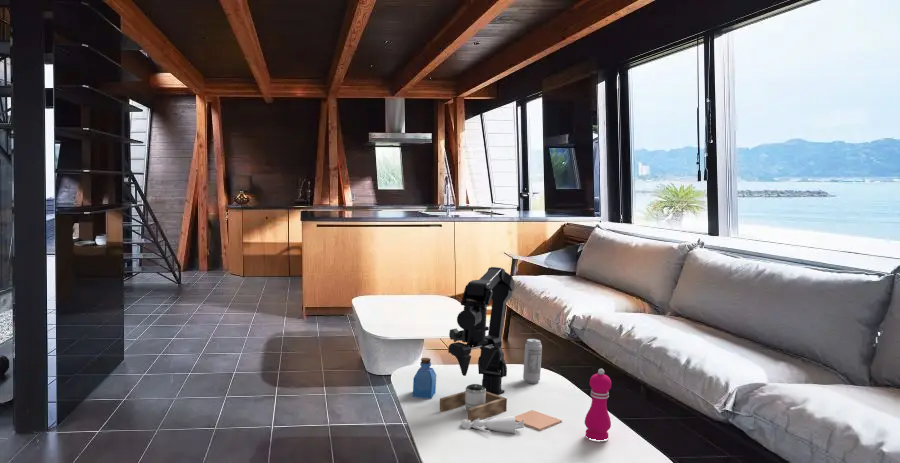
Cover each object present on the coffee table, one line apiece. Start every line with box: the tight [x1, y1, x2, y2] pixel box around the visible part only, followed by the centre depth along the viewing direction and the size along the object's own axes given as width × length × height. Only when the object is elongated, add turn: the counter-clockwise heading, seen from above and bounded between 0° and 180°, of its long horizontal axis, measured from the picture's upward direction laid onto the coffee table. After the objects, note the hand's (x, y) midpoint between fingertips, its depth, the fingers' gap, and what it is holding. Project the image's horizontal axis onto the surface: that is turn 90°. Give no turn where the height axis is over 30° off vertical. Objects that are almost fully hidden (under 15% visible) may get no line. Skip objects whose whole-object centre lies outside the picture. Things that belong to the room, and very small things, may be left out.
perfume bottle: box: [412, 357, 437, 400], centre depth 213 cm, size 6×6×12 cm
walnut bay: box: [439, 390, 508, 423], centre depth 200 cm, size 17×13×4 cm
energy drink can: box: [522, 338, 543, 384], centre depth 234 cm, size 6×6×15 cm
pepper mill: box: [584, 368, 612, 440], centre depth 183 cm, size 7×7×20 cm
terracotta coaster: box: [514, 409, 563, 432], centre depth 195 cm, size 11×11×1 cm
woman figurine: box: [461, 415, 525, 435], centre depth 187 cm, size 12×4×18 cm
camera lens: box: [464, 383, 486, 413], centre depth 201 cm, size 6×6×8 cm
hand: (474, 372), depth 200 cm, fingers open, 9 cm apart
